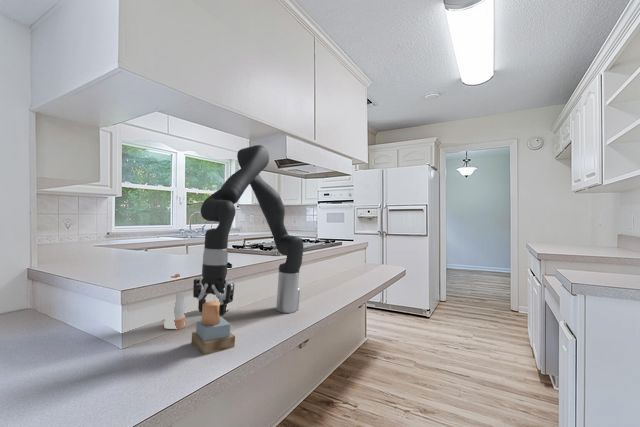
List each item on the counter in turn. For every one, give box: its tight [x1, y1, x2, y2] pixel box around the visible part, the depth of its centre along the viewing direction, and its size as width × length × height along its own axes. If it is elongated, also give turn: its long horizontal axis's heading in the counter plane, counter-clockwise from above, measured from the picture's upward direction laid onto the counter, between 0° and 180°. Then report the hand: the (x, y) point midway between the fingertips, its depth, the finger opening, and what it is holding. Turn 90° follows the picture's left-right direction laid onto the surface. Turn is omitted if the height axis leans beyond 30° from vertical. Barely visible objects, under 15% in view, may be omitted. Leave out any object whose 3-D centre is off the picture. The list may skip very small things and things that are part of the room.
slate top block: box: [195, 316, 231, 342], centre depth 102 cm, size 8×8×4 cm
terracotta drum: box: [201, 300, 221, 326], centre depth 102 cm, size 6×6×6 cm
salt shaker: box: [170, 273, 186, 331], centre depth 115 cm, size 7×7×19 cm
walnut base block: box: [191, 331, 236, 356], centre depth 102 cm, size 10×10×4 cm
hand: (211, 313), depth 101 cm, fingers open, 7 cm apart
